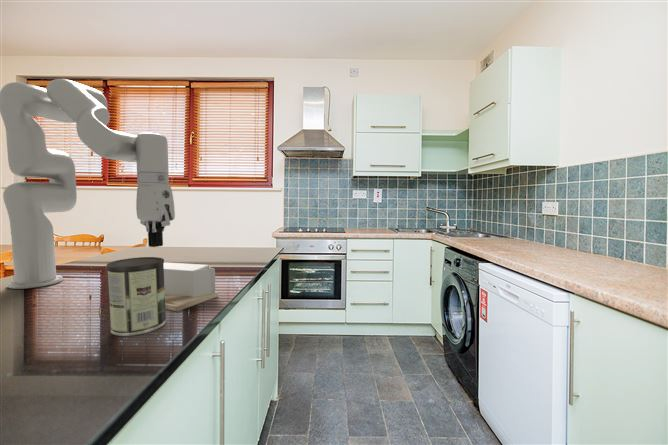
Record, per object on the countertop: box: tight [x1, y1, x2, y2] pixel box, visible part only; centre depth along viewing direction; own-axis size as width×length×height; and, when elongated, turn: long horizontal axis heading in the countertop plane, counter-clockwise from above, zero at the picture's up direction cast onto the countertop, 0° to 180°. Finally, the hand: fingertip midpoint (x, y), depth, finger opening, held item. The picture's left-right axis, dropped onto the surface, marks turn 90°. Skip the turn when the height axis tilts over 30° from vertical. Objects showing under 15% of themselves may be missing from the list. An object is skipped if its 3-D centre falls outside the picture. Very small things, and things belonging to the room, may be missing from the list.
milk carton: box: [163, 261, 216, 297], centre depth 87 cm, size 7×7×19 cm
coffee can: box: [105, 256, 167, 337], centre depth 67 cm, size 10×10×14 cm
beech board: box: [165, 291, 219, 312], centre depth 87 cm, size 24×13×1 cm, turn 65°
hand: (155, 246), depth 88 cm, fingers closed
